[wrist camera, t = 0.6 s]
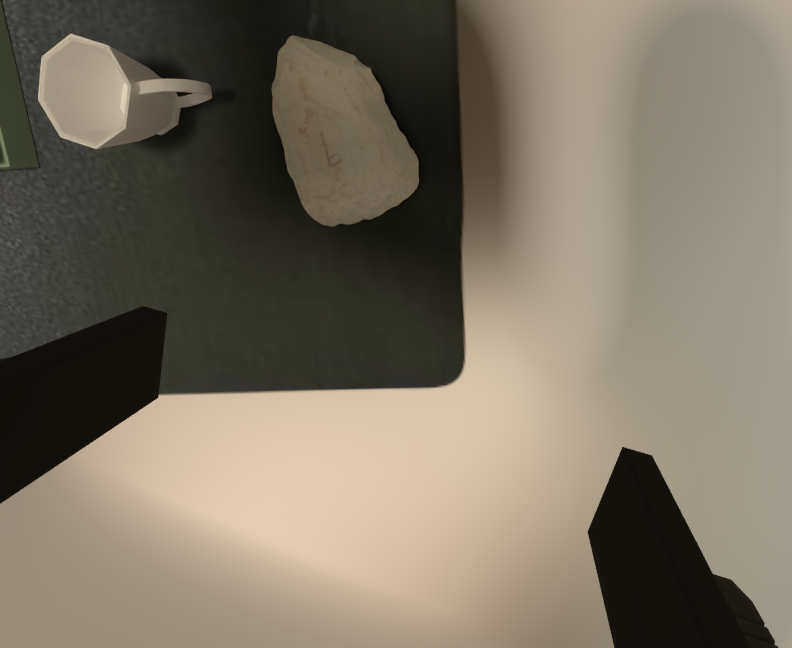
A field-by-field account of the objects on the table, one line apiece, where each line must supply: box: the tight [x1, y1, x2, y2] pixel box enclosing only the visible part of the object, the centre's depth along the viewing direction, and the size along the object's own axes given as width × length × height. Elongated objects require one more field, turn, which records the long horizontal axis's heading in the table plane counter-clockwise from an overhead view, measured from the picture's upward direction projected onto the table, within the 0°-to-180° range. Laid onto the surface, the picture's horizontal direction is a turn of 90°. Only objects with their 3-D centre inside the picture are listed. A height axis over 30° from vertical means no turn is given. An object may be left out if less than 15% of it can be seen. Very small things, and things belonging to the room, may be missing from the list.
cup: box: [38, 34, 212, 149], centre depth 40 cm, size 7×10×8 cm
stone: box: [272, 36, 419, 227], centre depth 39 cm, size 9×13×5 cm
